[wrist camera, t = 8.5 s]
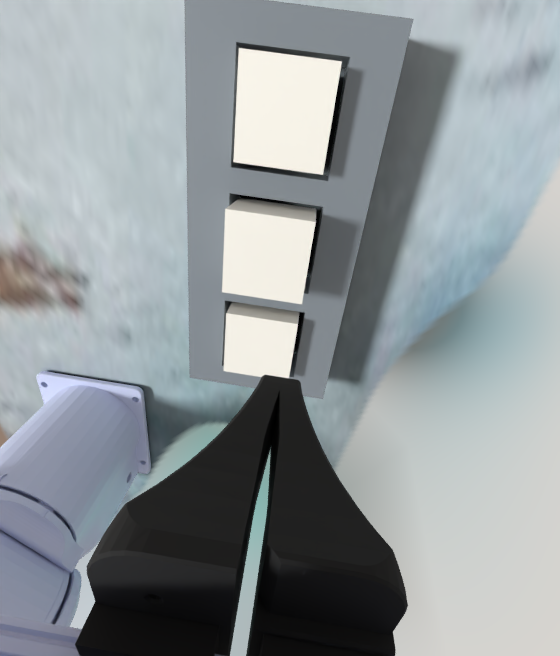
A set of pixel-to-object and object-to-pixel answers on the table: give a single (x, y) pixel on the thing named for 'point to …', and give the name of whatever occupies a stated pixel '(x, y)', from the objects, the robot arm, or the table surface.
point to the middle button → (267, 249)
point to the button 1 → (259, 340)
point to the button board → (279, 184)
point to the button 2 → (284, 110)
